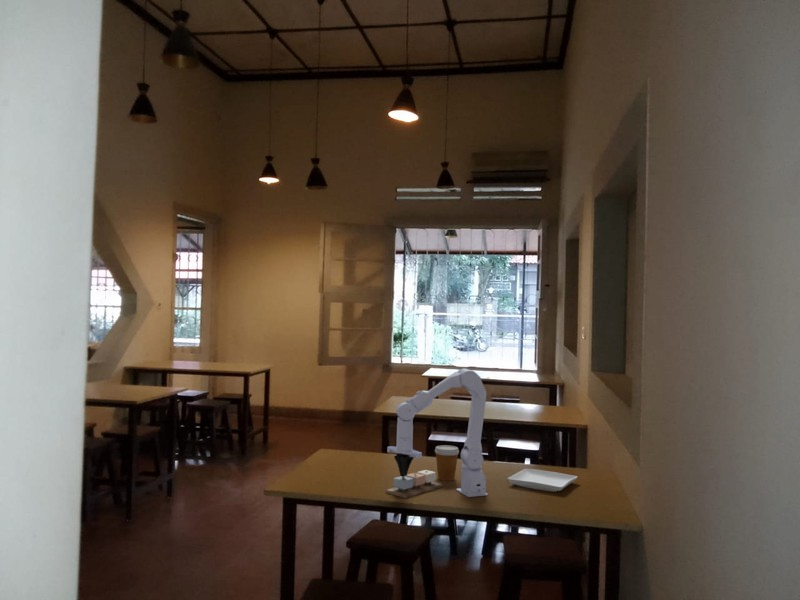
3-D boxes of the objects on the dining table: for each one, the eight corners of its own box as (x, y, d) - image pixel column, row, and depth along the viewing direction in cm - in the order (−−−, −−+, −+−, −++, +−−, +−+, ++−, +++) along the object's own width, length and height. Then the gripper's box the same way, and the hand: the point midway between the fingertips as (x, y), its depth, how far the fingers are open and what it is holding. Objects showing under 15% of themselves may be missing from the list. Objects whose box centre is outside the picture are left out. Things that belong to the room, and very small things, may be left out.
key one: (425, 477, 236) (425, 469, 236) (435, 480, 233) (436, 471, 233) (416, 480, 233) (417, 471, 233) (427, 482, 229) (427, 474, 229)
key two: (414, 480, 231) (414, 472, 232) (424, 483, 228) (425, 474, 228) (405, 483, 228) (405, 474, 228) (416, 486, 224) (416, 477, 224)
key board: (423, 482, 239) (423, 473, 239) (442, 486, 233) (442, 478, 233) (386, 492, 223) (386, 483, 223) (405, 498, 217) (405, 488, 217)
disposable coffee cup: (449, 483, 238) (450, 451, 238) (429, 478, 244) (429, 447, 244) (463, 478, 246) (463, 447, 246) (442, 474, 251) (443, 444, 252)
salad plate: (525, 475, 255) (525, 467, 255) (578, 484, 244) (578, 475, 244) (506, 487, 236) (506, 477, 236) (562, 496, 225) (562, 487, 226)
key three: (402, 484, 227) (402, 475, 227) (413, 486, 223) (413, 477, 223) (393, 486, 223) (393, 477, 223) (404, 489, 219) (404, 480, 220)
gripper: (382, 435, 225) (380, 473, 225) (413, 441, 216) (411, 481, 215) (395, 433, 231) (393, 470, 230) (426, 439, 221) (424, 478, 221)
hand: (403, 475), depth 223 cm, fingers closed
